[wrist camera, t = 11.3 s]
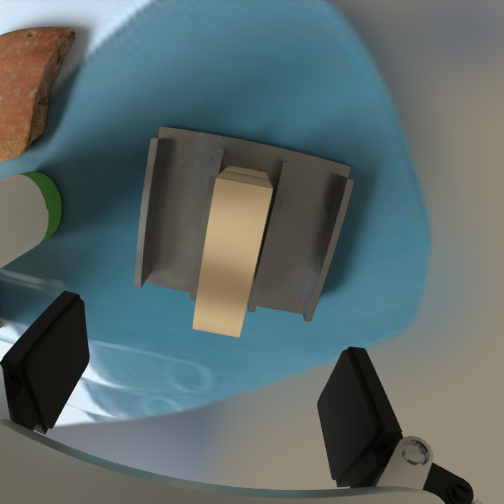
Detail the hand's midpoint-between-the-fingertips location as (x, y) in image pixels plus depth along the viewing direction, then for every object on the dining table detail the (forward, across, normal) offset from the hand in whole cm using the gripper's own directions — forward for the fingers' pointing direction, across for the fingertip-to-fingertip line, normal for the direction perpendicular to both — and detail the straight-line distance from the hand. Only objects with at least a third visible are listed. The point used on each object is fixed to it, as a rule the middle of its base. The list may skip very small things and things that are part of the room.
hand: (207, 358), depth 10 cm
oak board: (+18, 0, +1) cm, 18 cm away
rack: (+19, -1, +1) cm, 19 cm away
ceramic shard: (+21, +28, -10) cm, 36 cm away
